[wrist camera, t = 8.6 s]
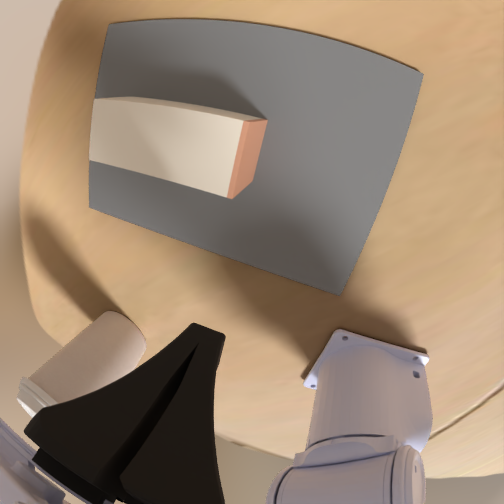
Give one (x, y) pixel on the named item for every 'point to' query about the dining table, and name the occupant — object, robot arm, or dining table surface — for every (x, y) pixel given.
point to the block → (178, 142)
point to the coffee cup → (85, 363)
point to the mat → (265, 141)
